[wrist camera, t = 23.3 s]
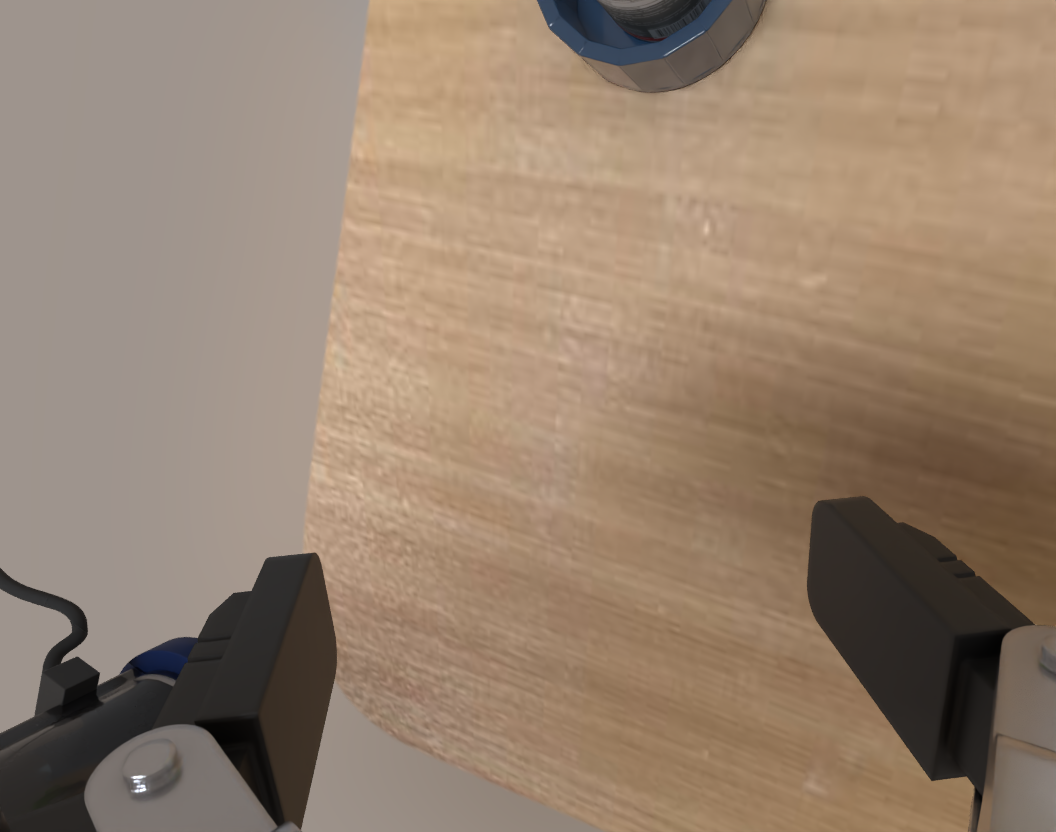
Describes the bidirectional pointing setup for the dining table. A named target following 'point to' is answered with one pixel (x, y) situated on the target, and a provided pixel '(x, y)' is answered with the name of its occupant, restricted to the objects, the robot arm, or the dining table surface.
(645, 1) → the pill bottle
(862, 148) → the dining table surface
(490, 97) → the dining table surface
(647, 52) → the bottle holder
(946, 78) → the dining table surface
